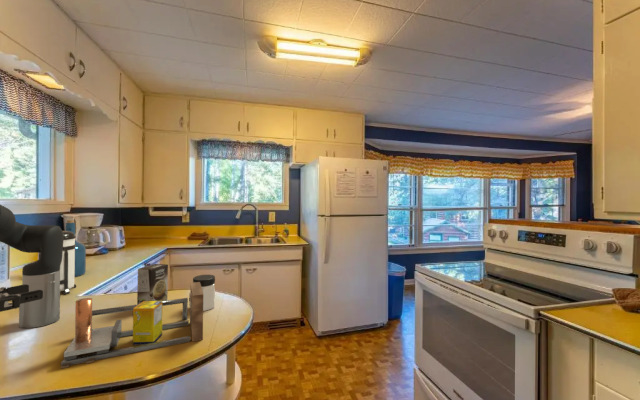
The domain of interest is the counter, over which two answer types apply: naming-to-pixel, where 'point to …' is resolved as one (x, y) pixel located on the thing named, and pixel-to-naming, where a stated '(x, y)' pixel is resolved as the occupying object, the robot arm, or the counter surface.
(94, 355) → the track
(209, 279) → the jar
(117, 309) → the handrail
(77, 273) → the teal bottle
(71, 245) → the coffee press
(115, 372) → the counter surface
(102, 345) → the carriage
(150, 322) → the supplement box
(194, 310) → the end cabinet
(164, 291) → the coffee box
